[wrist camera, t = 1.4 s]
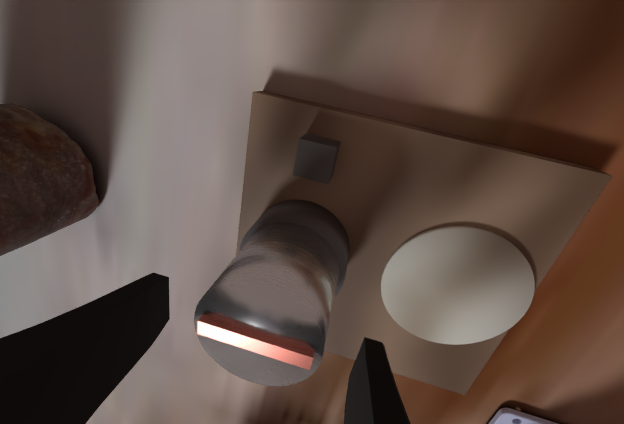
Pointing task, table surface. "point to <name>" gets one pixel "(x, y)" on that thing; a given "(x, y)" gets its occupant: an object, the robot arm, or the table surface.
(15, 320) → the table surface
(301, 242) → the knob
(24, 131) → the candle
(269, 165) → the base board
